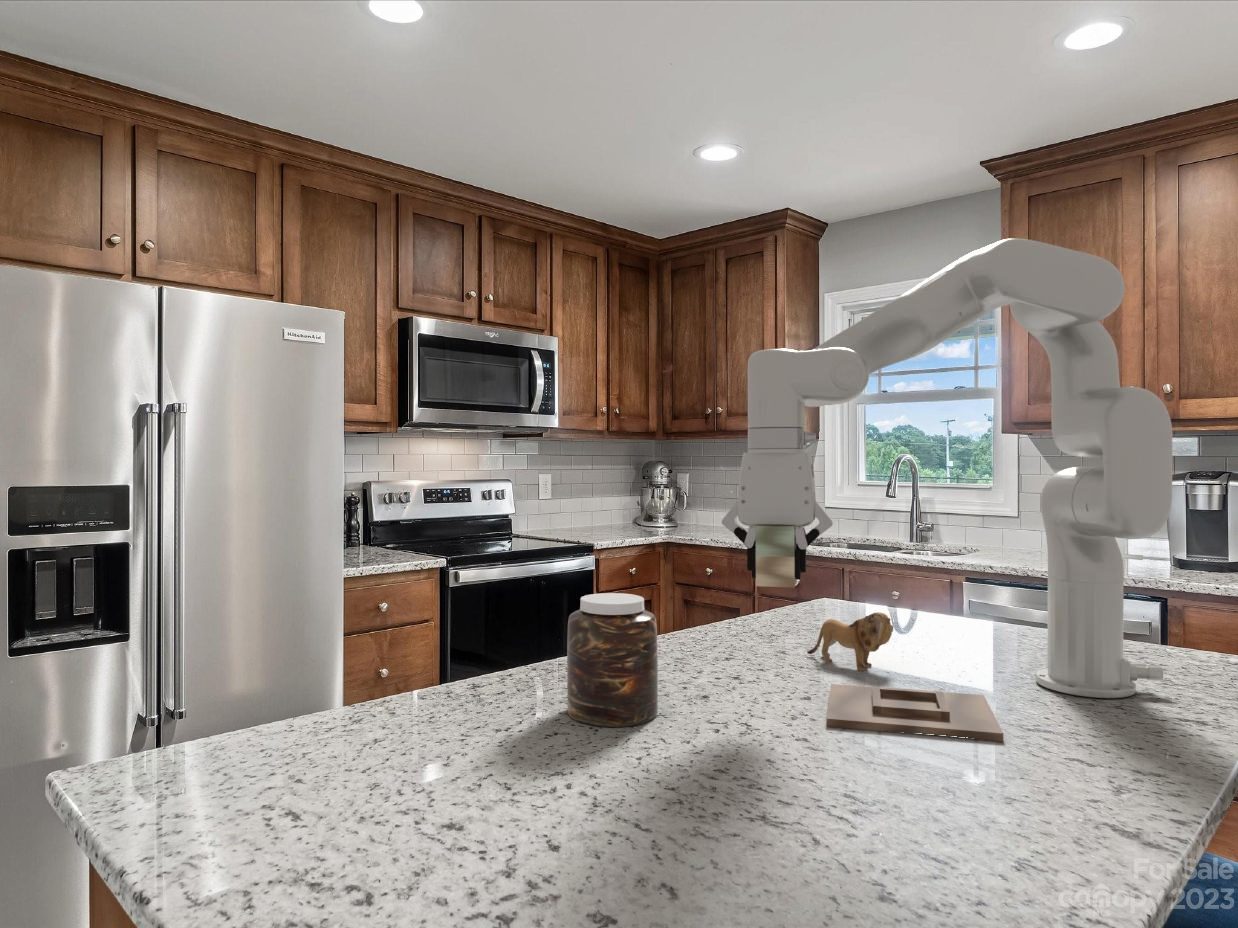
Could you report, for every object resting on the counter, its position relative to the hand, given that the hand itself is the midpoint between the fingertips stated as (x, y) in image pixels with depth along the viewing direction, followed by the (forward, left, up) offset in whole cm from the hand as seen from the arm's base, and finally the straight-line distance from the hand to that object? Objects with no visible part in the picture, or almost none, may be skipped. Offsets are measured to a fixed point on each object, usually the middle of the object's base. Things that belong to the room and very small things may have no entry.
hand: (776, 575), depth 111 cm
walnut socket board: (-17, 0, -17) cm, 24 cm away
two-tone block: (0, 0, -1) cm, 1 cm away
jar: (+20, +10, -18) cm, 29 cm away
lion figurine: (-9, -24, -18) cm, 31 cm away
